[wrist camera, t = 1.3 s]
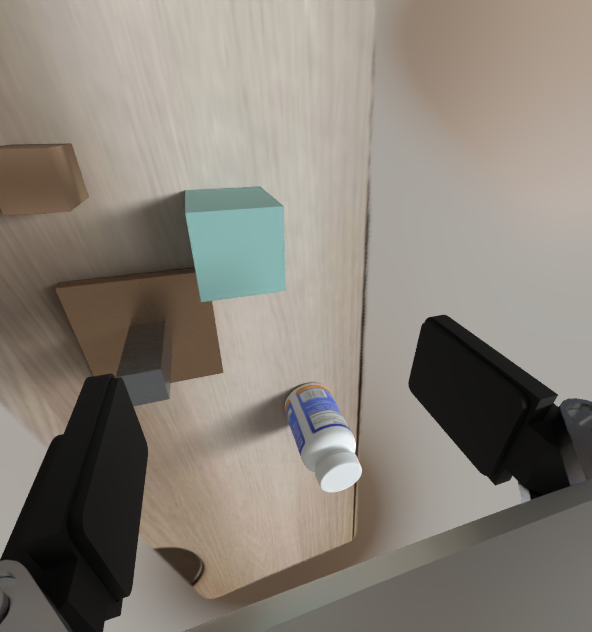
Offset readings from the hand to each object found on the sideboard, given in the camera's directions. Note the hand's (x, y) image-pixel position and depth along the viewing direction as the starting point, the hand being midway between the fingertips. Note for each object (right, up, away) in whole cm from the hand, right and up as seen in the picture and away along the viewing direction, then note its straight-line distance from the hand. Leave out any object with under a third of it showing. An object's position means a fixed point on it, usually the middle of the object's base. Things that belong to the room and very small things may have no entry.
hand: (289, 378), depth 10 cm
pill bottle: (+1, -7, +26) cm, 27 cm away
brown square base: (-12, +1, +16) cm, 20 cm away
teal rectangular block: (-5, +9, +14) cm, 17 cm away
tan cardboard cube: (-14, +11, +9) cm, 20 cm away
